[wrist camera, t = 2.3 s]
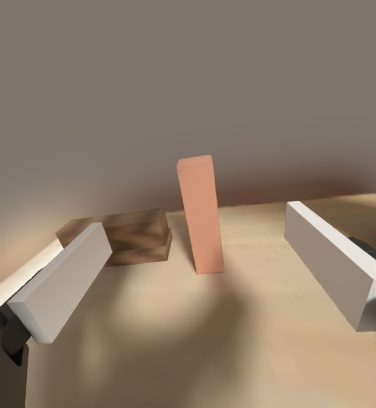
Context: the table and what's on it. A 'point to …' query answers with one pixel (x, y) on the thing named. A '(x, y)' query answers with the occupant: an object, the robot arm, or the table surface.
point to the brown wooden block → (127, 236)
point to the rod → (201, 212)
